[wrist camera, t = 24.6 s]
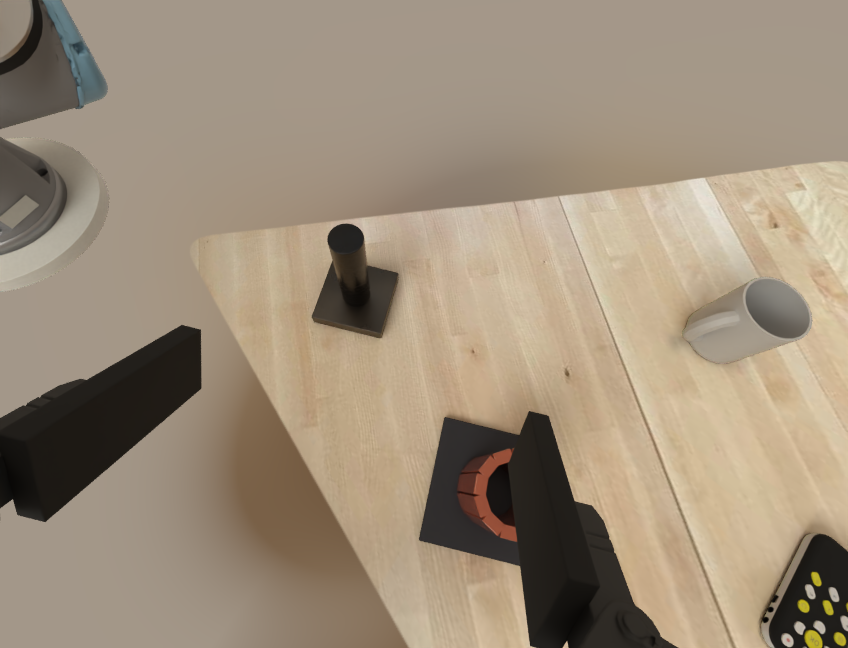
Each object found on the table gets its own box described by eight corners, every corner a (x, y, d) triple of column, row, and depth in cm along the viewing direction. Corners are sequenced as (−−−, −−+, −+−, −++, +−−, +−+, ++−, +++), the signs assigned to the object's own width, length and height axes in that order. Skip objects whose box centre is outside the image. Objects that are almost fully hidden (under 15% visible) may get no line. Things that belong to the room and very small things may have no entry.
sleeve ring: (451, 518, 39) (467, 529, 31) (464, 448, 42) (482, 440, 33) (518, 535, 39) (553, 551, 31) (527, 463, 41) (562, 460, 33)
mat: (418, 539, 39) (419, 540, 38) (444, 417, 43) (445, 416, 43) (539, 570, 38) (541, 571, 38) (552, 444, 43) (554, 444, 42)
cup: (750, 361, 48) (825, 337, 40) (675, 371, 47) (736, 348, 39) (726, 307, 51) (791, 273, 42) (654, 315, 50) (707, 282, 41)
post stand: (313, 322, 46) (286, 266, 34) (335, 263, 49) (316, 192, 37) (381, 338, 46) (377, 288, 34) (398, 278, 49) (400, 212, 37)
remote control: (860, 572, 41) (883, 577, 39) (810, 688, 37) (833, 699, 35) (806, 525, 42) (825, 527, 40) (751, 632, 38) (770, 640, 36)
